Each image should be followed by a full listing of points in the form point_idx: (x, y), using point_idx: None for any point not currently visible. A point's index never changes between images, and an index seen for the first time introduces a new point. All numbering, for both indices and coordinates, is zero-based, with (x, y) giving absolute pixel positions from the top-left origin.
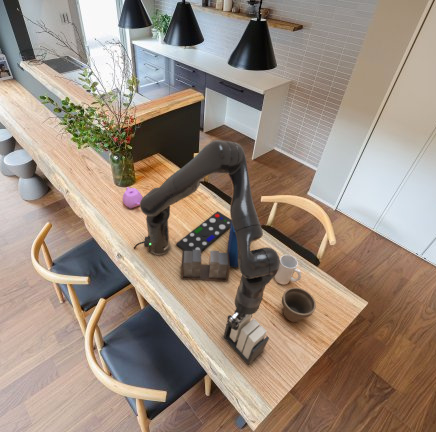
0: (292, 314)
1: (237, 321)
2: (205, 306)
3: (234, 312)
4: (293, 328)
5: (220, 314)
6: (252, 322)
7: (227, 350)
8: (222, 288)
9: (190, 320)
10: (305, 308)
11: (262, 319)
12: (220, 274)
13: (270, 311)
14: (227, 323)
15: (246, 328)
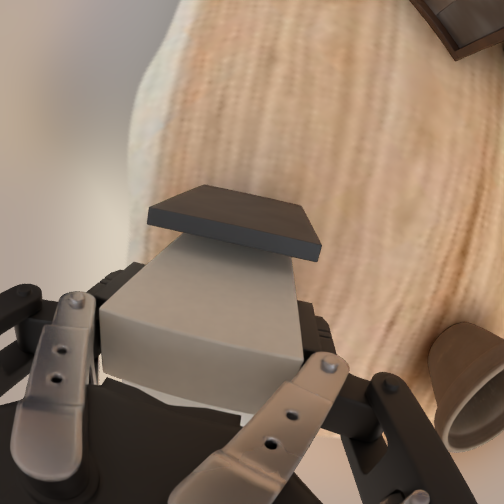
0: (438, 414)
1: (101, 348)
2: (280, 30)
3: (35, 356)
4: (406, 374)
5: (294, 106)
6: (229, 410)
7: (169, 231)
8: (415, 53)
9: (175, 28)
10: (478, 392)
11: (390, 280)
12: (459, 15)
13: (436, 287)
14: (13, 288)
15: (153, 393)
